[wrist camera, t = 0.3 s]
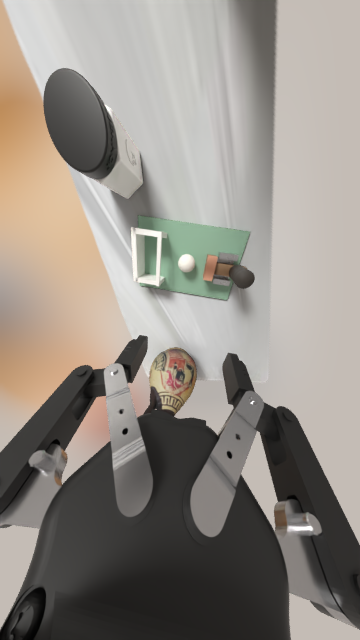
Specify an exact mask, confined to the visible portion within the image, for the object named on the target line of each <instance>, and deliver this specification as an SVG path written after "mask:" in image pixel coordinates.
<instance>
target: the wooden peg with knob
mask: <svg viewBox="0 0 360 640" xmlns="http://www.w3.org/2000/svg"><path fill="white" fill-rule="evenodd" d="M217 259H218V257H217V256H216V255H209V254H207V259H206V264H205V268H204V273H203V280H207V281H212V279H213V275H214V274H215V275H221V276H228V277H230V278H231V279H232V280H233V281H234V283H235V284H236V285H237V286H238V287H239V288H242V289H244V288H248V287H250V286H251V285H252V284H253V282H254V279H255V277H254V274H253V273H252V272H251V271H249V270H247V268H246V267H244V266H241V265H232V264H226V263H220V262H217Z"/></svg>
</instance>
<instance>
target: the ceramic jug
mask: <svg viewBox="0 0 360 640" xmlns="http://www.w3.org/2000/svg"><path fill="white" fill-rule="evenodd" d="M196 377H197V371H196V366H195V363H194V361H193V359H192V358H191V357H190V356H189V355H188V354H187V352H186V351H185V350H183V349H181V348H177V347H175V348H170V349H168V350H166V351H164V352H161V353H160V354H159V355H158V356H157V357H156V358H155V359H154V361H153V363H152V366H151V369H150V377H149V381H150V388H151V394H150V405H149V407H148V408H147V409H146V411H145V412H144V414H147V413H151V411H152V409H157V410H159V411H164V412H166V413H168V414H170V415H172V416H174V415H175V414H176V413H177V412H178V411H179V410H180V408H181V407H182V406H183V405H184V403H185V402H186V400H187V399H188V398H189V397H190V395H191V393H192V391H193V389H194V385H195V382H196ZM144 414H143V415H144Z"/></svg>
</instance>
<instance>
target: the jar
mask: <svg viewBox="0 0 360 640" xmlns="http://www.w3.org/2000/svg"><path fill="white" fill-rule="evenodd" d="M44 114H45V120H46V124H47V128H48V131H49V134H50V136H51V139H52V141H53V143H54V145H55V147H56V149H57V150H58V152H59V153H60V155H61V156H62V158H63V159H64V160H65V161H66V162H67V163H68V164H69V165H70V166H71V167H72V168H74V169H75V170H77V171H79V172H81V173H82V174H84V175H86V176H88V177H90V178H92V179H94V180H95V181H97V182H99V183H100V184H102V185H104V186H105V187H107V188H109V189H111V190H112V191H114V192H116V193H117V194H119V195H121V196H123V197H124V198H126V199H129V198H130V197H131V195H132V194H133V193H134V192H135V191H136V190H137V189H138V188H139V187H140V186H141V185H142V184H143V177H142V169H141V161H140V152H139V149H138V148H137V146H136V145H135V143H134V142H133V140H132V139H131V138H130V136H129V135H128V133H127V132H126V130H125V129H124V127H123V126H122V124H121V123H120V121H119V120H118V118H117V117H116V115H115V114H114V112H113V111H112V109H110V108H109V107H108V106H106V105H105V104H104V103H103V101H102V100H101V98H100V96H99V95H98V94H97V92H96V91H95V90H94V88H93V87H92V86H91V85H90V84H89V82H88V81H87V80H86V79H85V78H84V77H83V76H81V75H80V74H79V73H77V72H76V71H74V70H71V69H67V68H62V69H58V70H56V71H55V72H54V73H52V75H51V76H50V77H49V79H48V81H47V83H46V87H45V91H44Z"/></svg>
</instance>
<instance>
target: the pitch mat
mask: <svg viewBox="0 0 360 640" xmlns="http://www.w3.org/2000/svg"><path fill="white" fill-rule="evenodd" d="M138 228H140V229H146V230H153V231H160V232H165V233H168V234H167V238H162V249H161V269H160V276H162V277H165V279H164V282H163V283H162V284H161V285H160V286H159V287H158V286H156V285H152V284H146V283H140V285H141V286H147V287H152V288H158V289H164V290H170V291H176V292H182V293H188V294H194V295H200V296H205V297H211V298H217V299H223V300H227V299H228V296H229V293H230V290H231V287H232V284H233V280H232V279H231V278H230V277H229V280H230V281H231V282H230V285H229V286H224V285H218V284H212V281H207V280H203V273H204V268H205V264H206V259H207V254H209V255H216V256H217V257H218V253H219V252H225V253H231V254H237V255H239V257H238V260H237V261H234V263H233V265H239V263H240V261H241V258H242V255H243V252H244V249H245V246H246V243H247V240H248V237H249V234H250V232H248V231H241V230H235V229H228V228H221V227H214V226H207V225H200V224H194V223H187V222H180V221H173V220H166V219H159V218H153V217H146V216H139V215H138ZM184 254H189V255H191V256H192V257H193V258H194V260H195V266H194V268H193V270H192V271H190V272H183V271H181V270H180V268H179V266H178V261H179V259H180V257H181V256H182V255H184ZM156 264H157V237H154V236H147V235H145V274H150V275H156Z"/></svg>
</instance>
